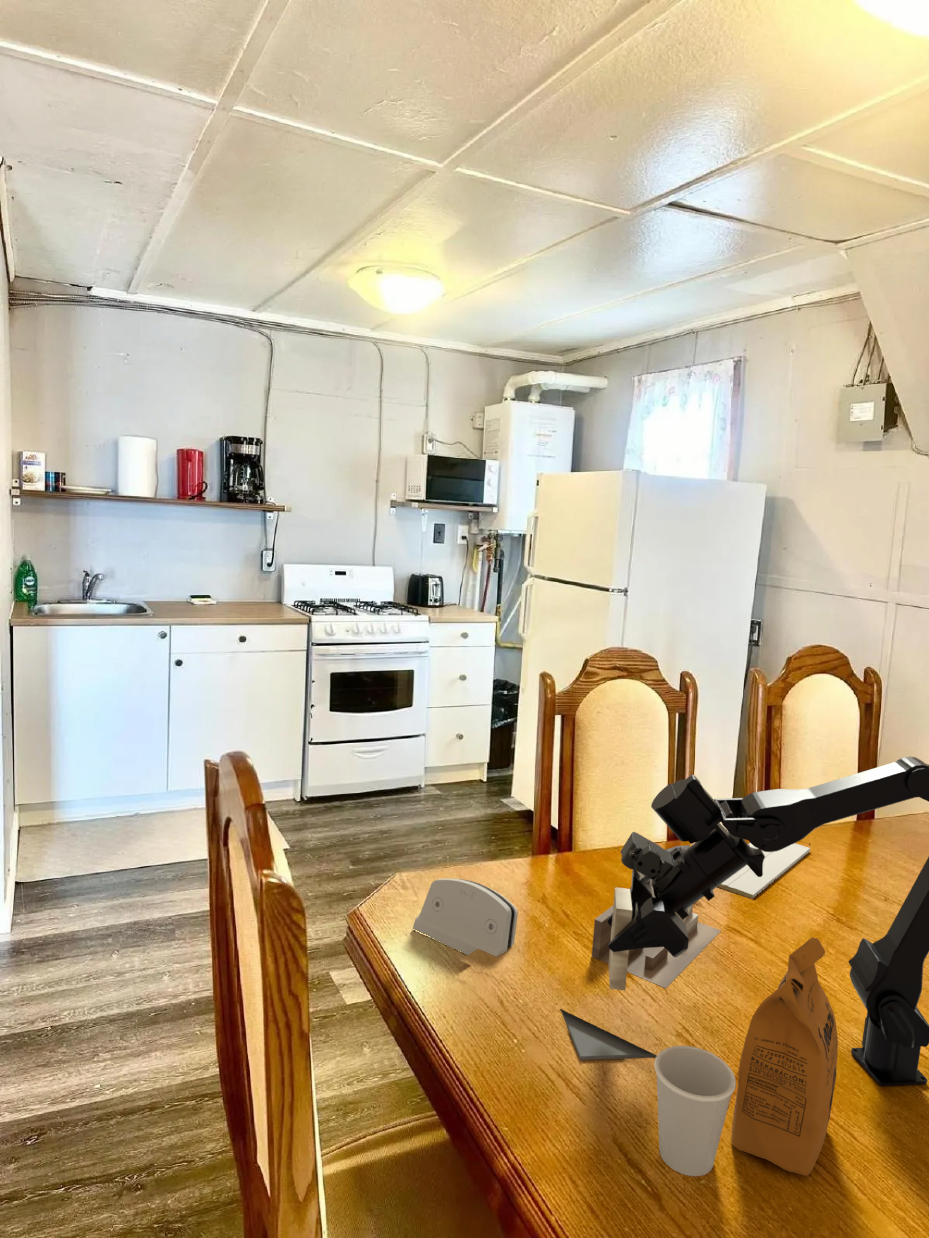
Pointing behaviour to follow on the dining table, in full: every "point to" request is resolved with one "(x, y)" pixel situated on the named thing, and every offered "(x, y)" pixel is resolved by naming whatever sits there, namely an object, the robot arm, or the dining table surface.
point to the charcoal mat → (600, 1041)
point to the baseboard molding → (764, 871)
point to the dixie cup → (691, 1107)
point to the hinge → (468, 917)
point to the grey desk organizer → (652, 952)
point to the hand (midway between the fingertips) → (609, 935)
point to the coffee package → (788, 1069)
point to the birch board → (619, 921)
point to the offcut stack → (690, 920)
